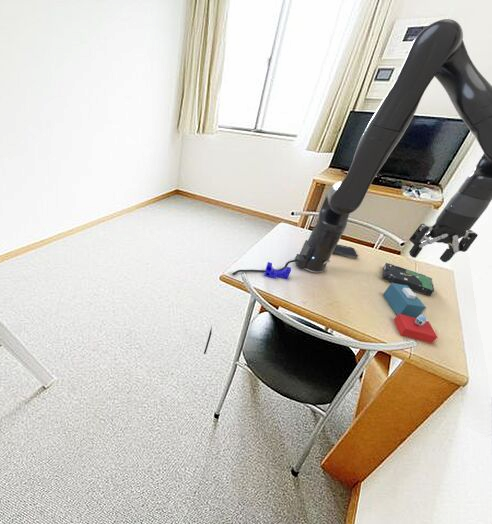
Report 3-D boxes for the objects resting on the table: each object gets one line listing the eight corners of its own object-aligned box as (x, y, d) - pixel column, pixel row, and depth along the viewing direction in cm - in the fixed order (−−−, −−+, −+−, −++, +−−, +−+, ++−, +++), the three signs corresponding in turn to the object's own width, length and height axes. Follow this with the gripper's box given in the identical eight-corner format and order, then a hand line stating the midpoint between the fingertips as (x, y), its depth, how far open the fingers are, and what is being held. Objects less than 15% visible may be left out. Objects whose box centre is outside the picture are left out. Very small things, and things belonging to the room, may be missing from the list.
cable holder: (264, 275, 110) (267, 267, 108) (264, 270, 113) (267, 262, 111) (287, 281, 108) (291, 272, 106) (286, 276, 111) (290, 267, 109)
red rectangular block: (400, 334, 90) (412, 320, 87) (393, 319, 96) (404, 305, 92) (431, 343, 88) (445, 328, 85) (423, 327, 93) (435, 313, 90)
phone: (316, 239, 133) (353, 247, 130) (315, 242, 134) (352, 249, 130) (318, 248, 127) (358, 257, 123) (317, 250, 128) (356, 259, 124)
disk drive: (381, 280, 113) (430, 296, 107) (385, 274, 112) (435, 290, 105) (382, 268, 120) (428, 282, 114) (385, 262, 119) (432, 276, 112)
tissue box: (398, 316, 97) (410, 301, 93) (382, 294, 106) (393, 280, 102) (415, 319, 96) (428, 304, 92) (398, 297, 105) (409, 282, 101)
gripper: (482, 208, 85) (445, 255, 95) (427, 201, 87) (396, 248, 97) (502, 220, 79) (460, 269, 89) (443, 212, 81) (408, 261, 90)
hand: (427, 258), depth 93 cm, fingers open, 8 cm apart
